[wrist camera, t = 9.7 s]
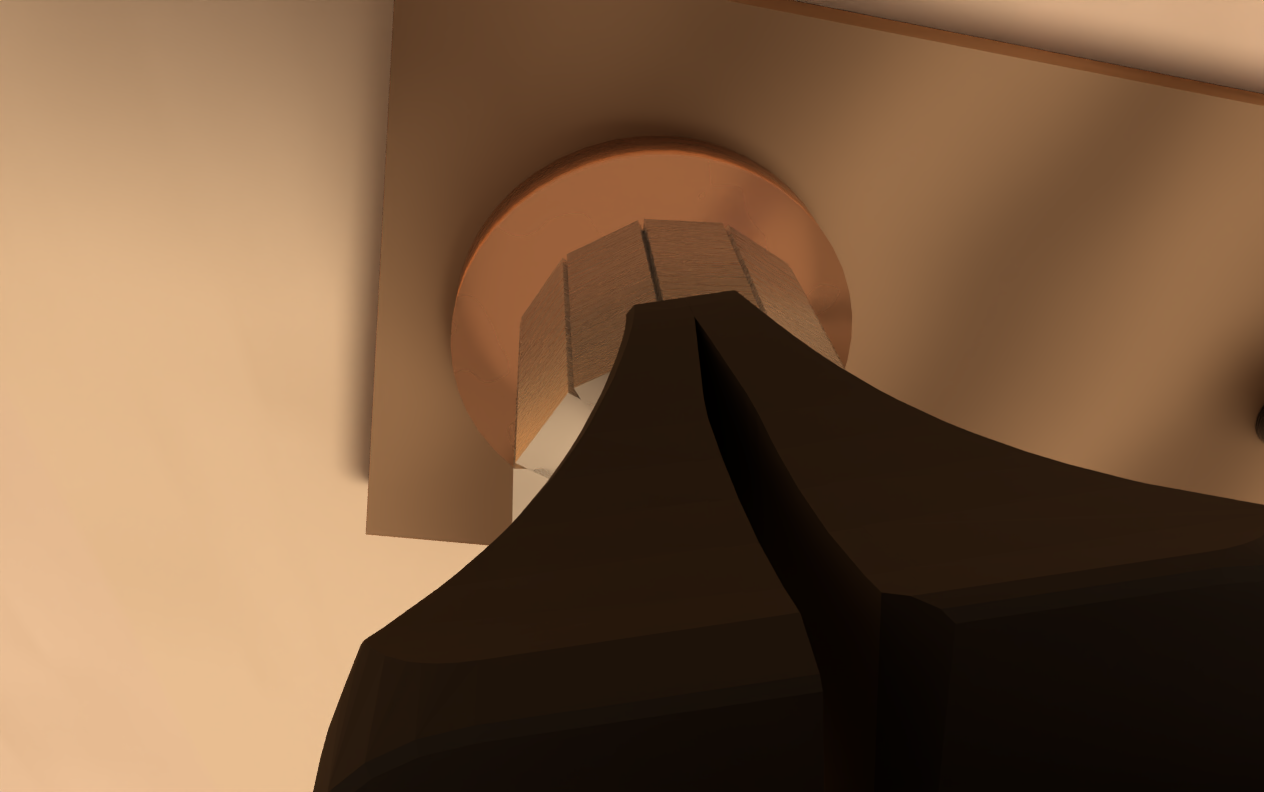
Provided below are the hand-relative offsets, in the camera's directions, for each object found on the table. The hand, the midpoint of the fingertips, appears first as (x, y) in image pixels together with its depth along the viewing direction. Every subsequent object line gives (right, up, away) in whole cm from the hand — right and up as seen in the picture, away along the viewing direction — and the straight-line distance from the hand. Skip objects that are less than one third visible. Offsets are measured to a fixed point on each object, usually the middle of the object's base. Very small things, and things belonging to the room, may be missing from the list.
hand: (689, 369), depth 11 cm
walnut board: (+6, +1, +8) cm, 10 cm away
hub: (0, +1, +5) cm, 5 cm away
